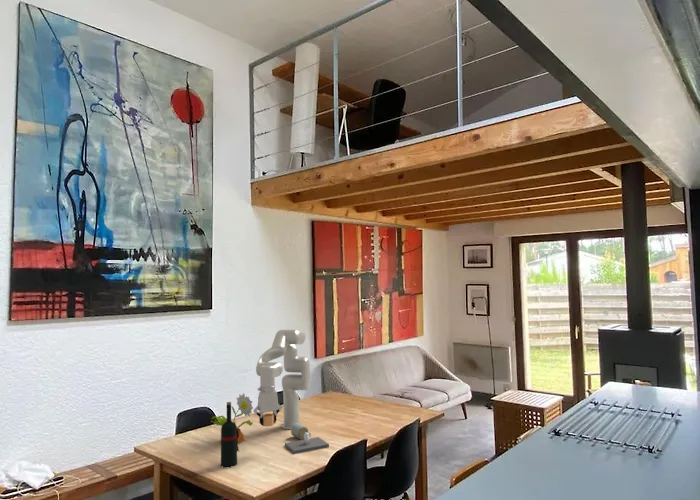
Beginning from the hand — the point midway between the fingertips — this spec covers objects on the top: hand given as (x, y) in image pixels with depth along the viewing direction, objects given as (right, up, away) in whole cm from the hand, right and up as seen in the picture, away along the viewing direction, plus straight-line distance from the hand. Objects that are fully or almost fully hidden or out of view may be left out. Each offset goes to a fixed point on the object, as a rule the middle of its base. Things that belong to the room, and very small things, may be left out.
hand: (268, 423), depth 253 cm
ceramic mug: (+15, -16, +23) cm, 32 cm away
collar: (0, -1, 0) cm, 1 cm away
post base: (+20, -15, +7) cm, 26 cm away
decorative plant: (-25, -17, +18) cm, 35 cm away
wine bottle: (-16, -14, -16) cm, 27 cm away
